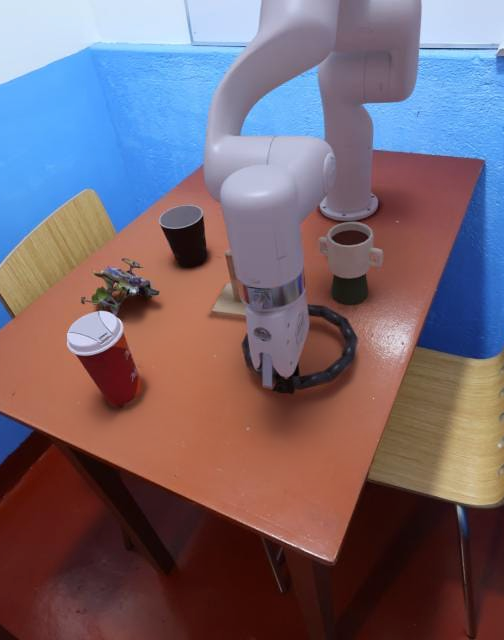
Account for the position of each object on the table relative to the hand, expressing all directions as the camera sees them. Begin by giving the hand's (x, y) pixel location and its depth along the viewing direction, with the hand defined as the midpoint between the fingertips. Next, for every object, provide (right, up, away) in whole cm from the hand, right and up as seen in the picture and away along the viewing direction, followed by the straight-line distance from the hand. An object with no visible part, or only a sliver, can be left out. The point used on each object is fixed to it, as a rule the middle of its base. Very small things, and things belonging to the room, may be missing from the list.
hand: (285, 383), depth 64 cm
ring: (+2, +5, +5) cm, 7 cm away
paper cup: (-24, -3, +8) cm, 26 cm away
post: (-7, +12, +20) cm, 24 cm away
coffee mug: (-17, +22, +33) cm, 43 cm away
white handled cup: (+12, +12, +17) cm, 25 cm away
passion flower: (-28, +11, +23) cm, 38 cm away
